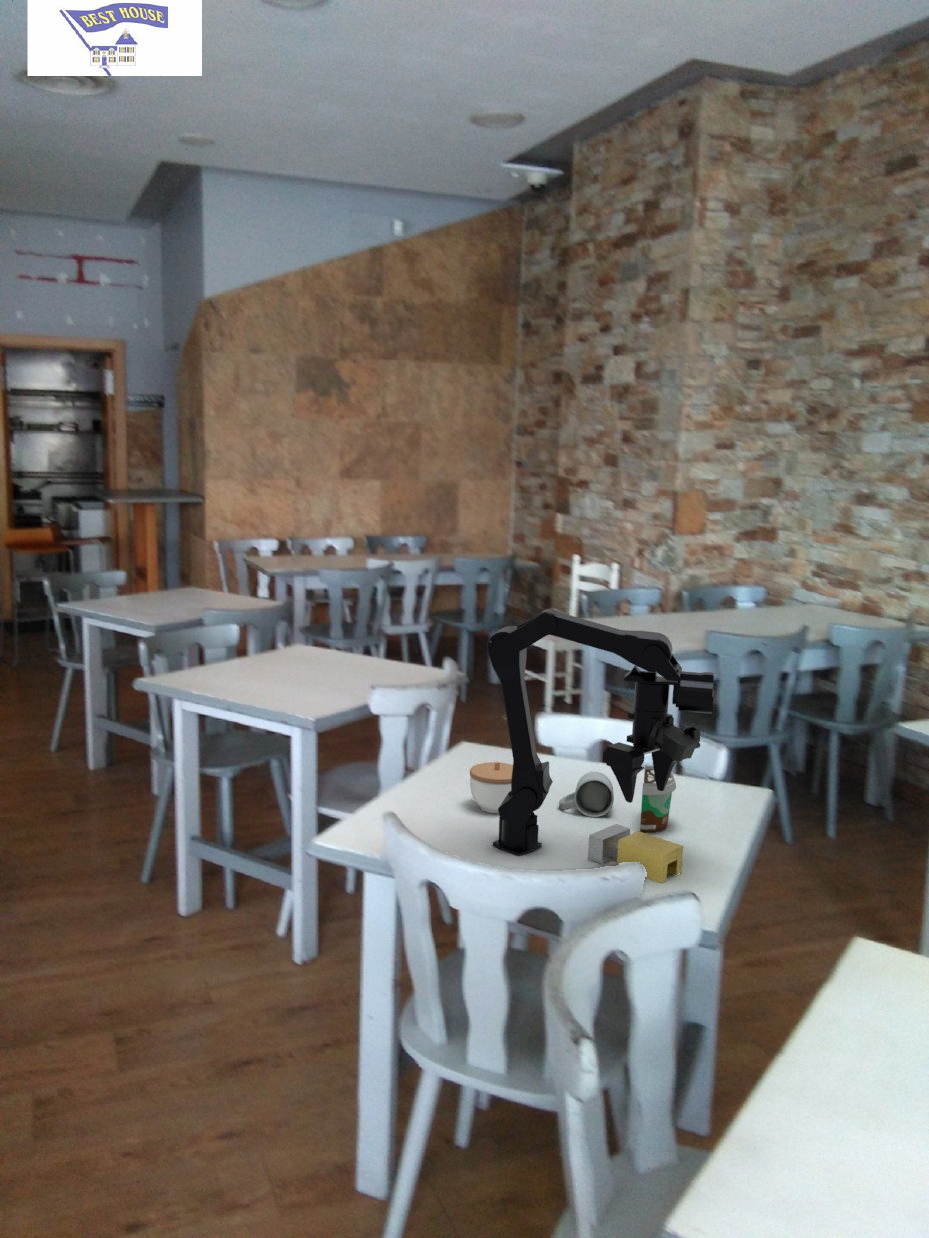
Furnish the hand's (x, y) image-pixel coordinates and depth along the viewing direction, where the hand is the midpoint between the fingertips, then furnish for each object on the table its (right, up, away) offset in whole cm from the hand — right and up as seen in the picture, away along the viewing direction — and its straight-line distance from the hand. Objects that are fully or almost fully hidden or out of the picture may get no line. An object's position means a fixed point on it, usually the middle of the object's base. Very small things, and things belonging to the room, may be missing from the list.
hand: (645, 796), depth 180 cm
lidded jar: (-25, -7, +27) cm, 37 cm away
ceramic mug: (-7, -8, +27) cm, 29 cm away
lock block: (0, -12, -1) cm, 13 cm away
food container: (+6, -9, +20) cm, 22 cm away
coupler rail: (-3, -12, +2) cm, 12 cm away
